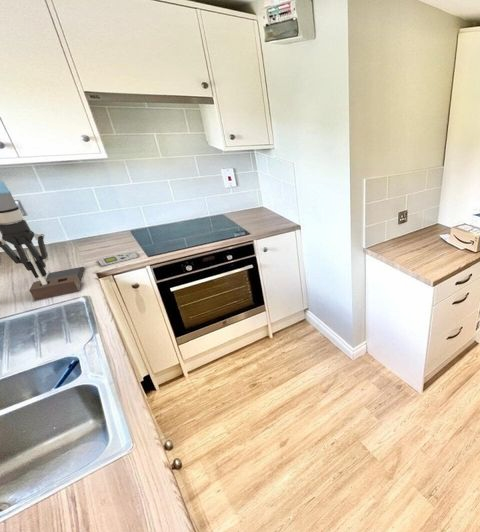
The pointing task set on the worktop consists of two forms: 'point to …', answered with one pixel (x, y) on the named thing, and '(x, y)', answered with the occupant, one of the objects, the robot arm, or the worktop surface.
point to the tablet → (67, 273)
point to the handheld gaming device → (117, 258)
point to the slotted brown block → (55, 287)
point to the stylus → (35, 266)
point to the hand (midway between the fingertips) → (41, 275)
